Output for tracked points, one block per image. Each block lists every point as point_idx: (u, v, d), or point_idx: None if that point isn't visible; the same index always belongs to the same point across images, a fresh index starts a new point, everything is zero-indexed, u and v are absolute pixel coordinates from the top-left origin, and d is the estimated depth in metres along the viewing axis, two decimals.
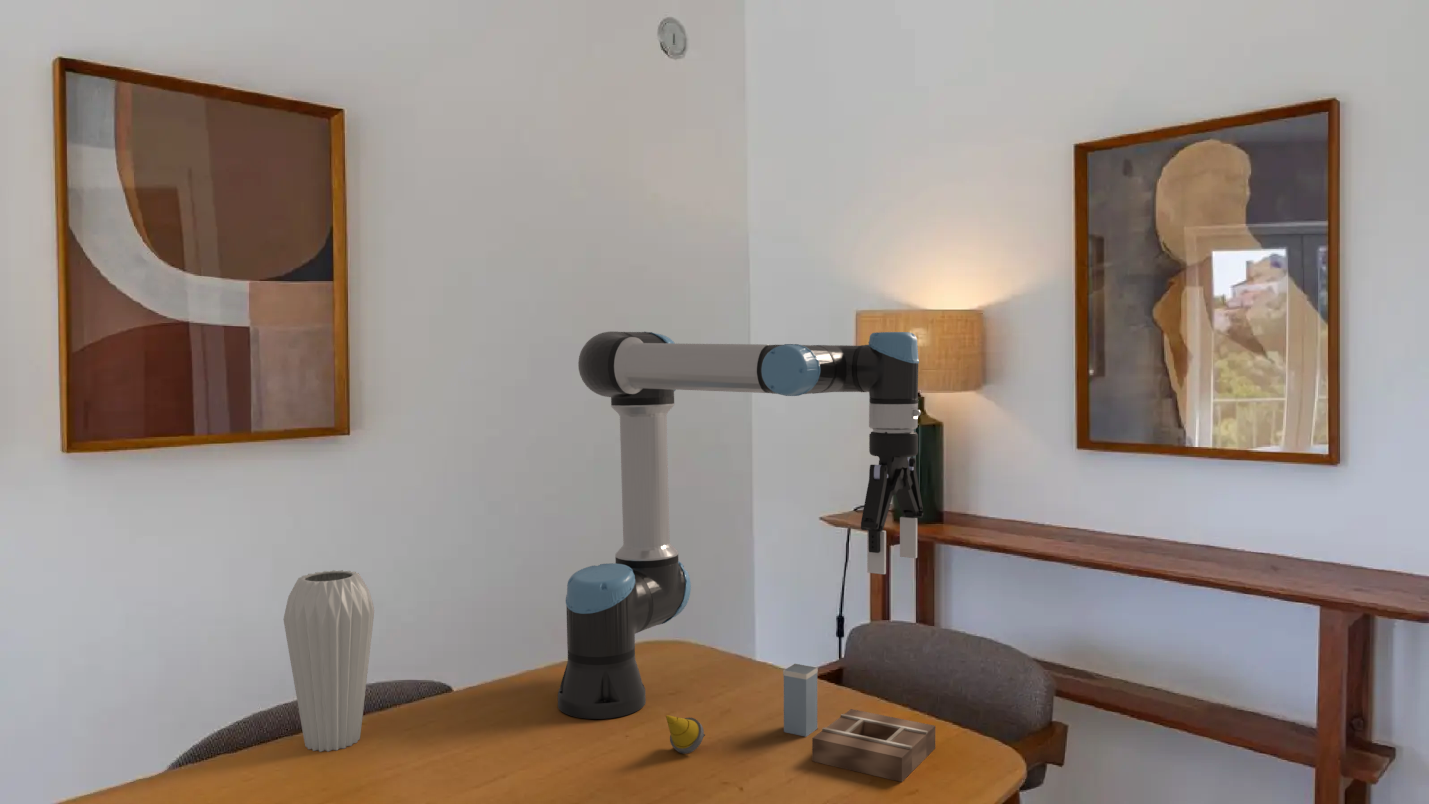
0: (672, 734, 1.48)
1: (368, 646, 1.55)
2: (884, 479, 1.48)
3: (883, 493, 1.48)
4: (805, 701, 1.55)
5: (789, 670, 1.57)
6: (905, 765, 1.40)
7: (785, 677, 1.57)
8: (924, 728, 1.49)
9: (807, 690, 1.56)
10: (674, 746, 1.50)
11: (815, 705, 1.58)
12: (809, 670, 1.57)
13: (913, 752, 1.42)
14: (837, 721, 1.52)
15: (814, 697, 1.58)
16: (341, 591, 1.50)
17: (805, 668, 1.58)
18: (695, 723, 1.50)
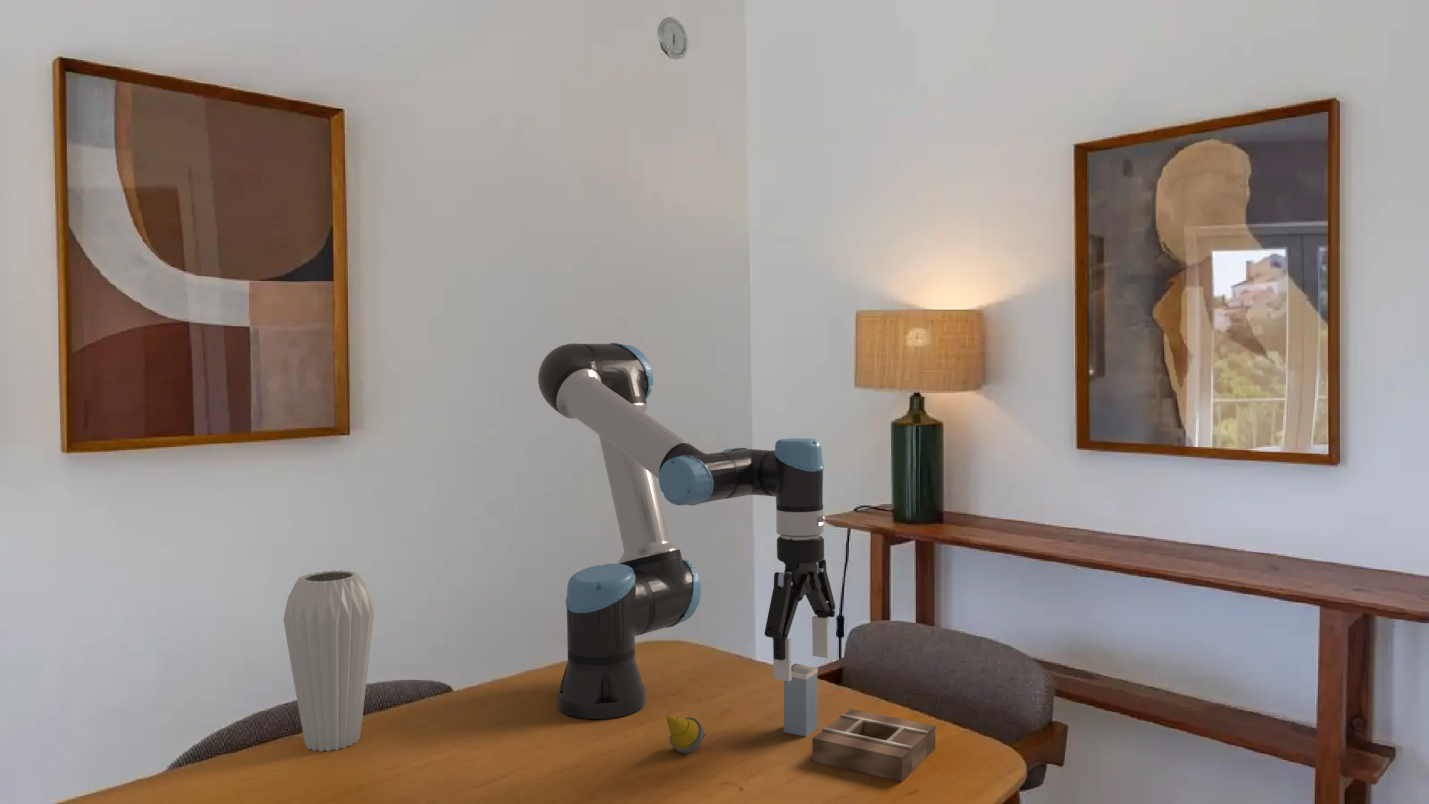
0: (672, 734, 1.48)
1: (368, 646, 1.55)
2: (788, 587, 1.51)
3: (787, 601, 1.50)
4: (805, 701, 1.55)
5: None
6: (905, 765, 1.40)
7: None
8: (924, 728, 1.49)
9: (807, 690, 1.56)
10: (674, 746, 1.50)
11: (815, 705, 1.58)
12: (809, 670, 1.57)
13: (913, 752, 1.42)
14: (837, 721, 1.52)
15: (814, 697, 1.58)
16: (341, 591, 1.50)
17: (805, 668, 1.58)
18: (695, 723, 1.50)
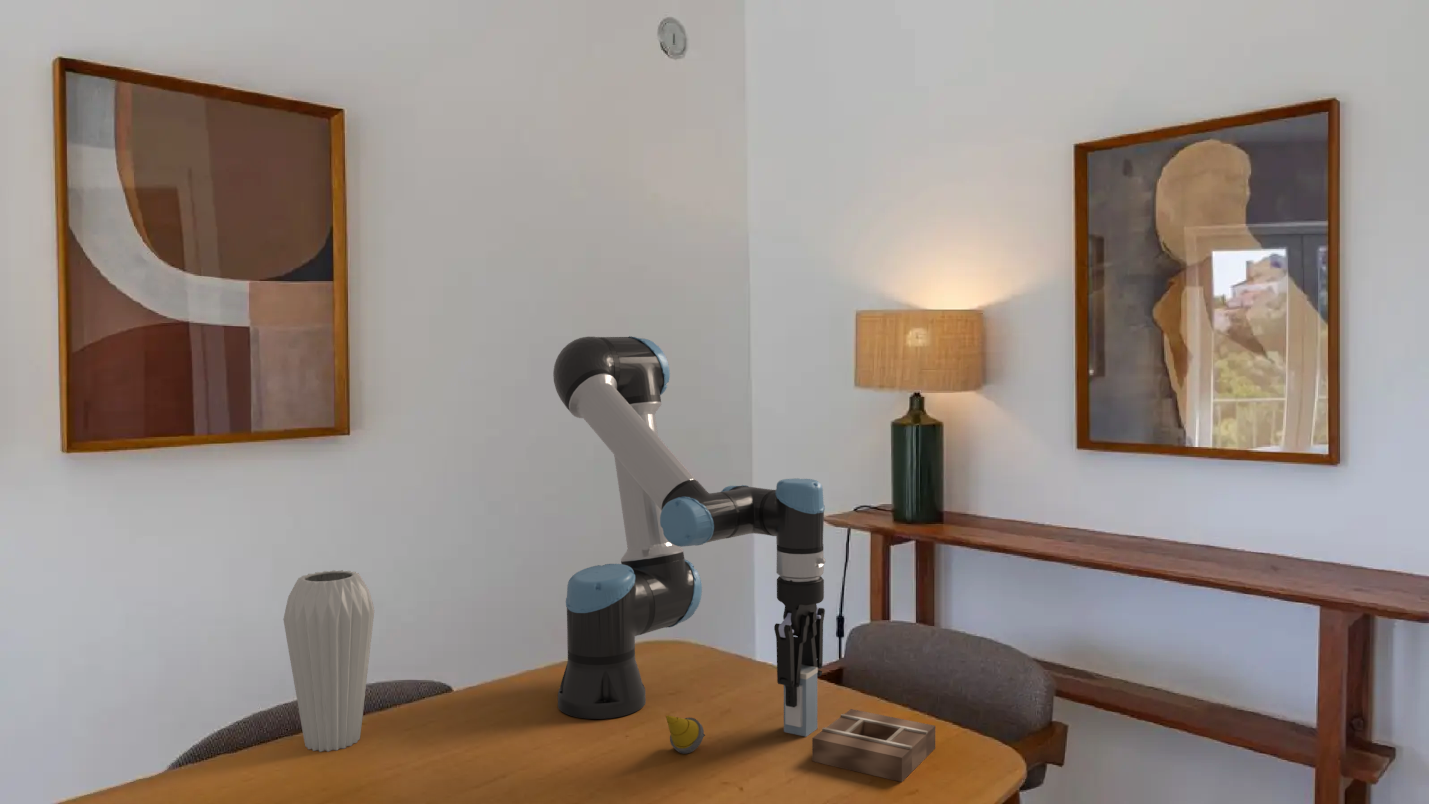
0: (672, 734, 1.48)
1: (368, 646, 1.55)
2: (790, 638, 1.52)
3: (792, 650, 1.53)
4: (805, 701, 1.55)
5: None
6: (905, 765, 1.40)
7: None
8: (924, 728, 1.49)
9: (807, 690, 1.56)
10: (674, 746, 1.50)
11: (815, 705, 1.58)
12: (809, 670, 1.57)
13: (913, 752, 1.42)
14: (837, 721, 1.52)
15: (814, 697, 1.58)
16: (341, 591, 1.50)
17: (805, 668, 1.58)
18: (695, 723, 1.50)
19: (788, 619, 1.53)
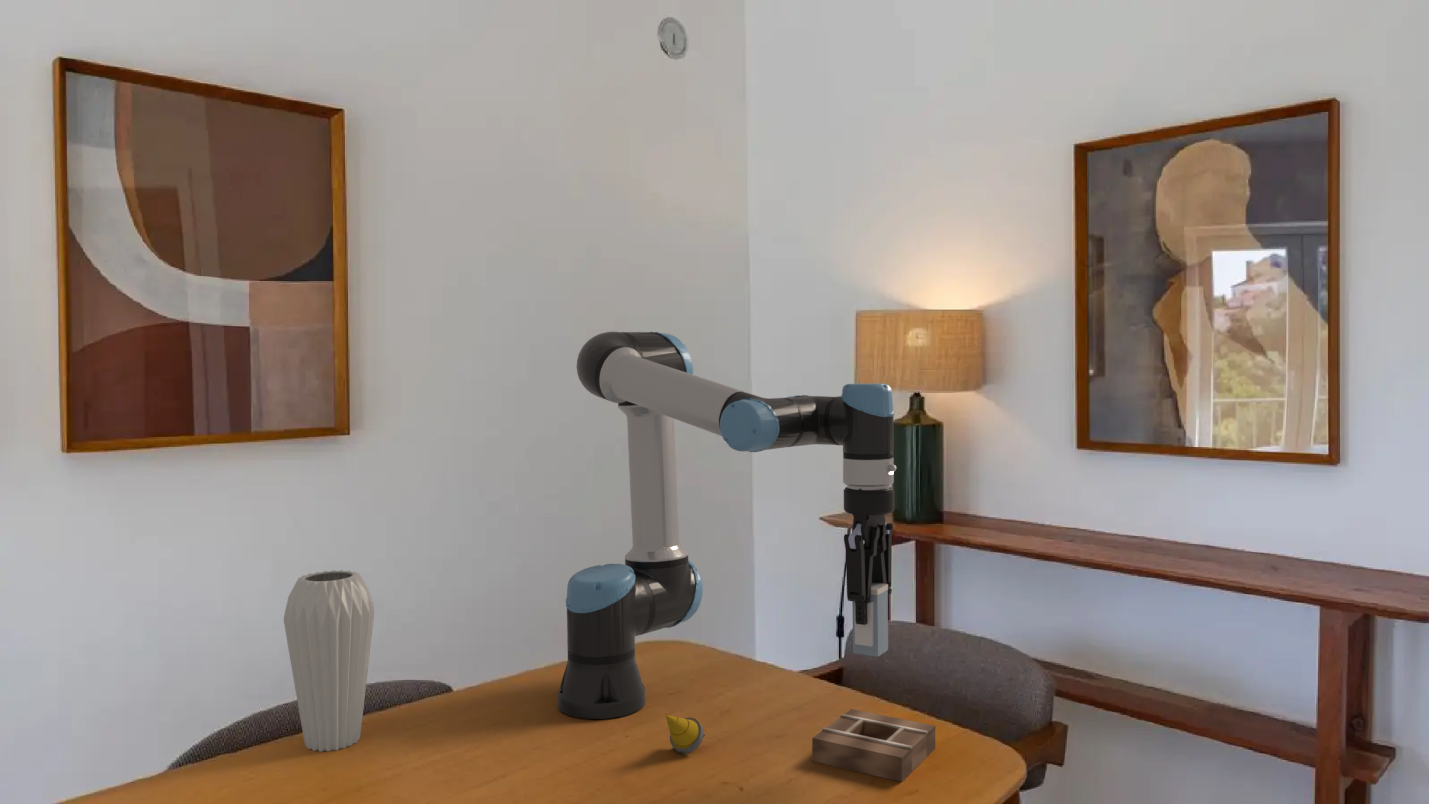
0: (672, 734, 1.48)
1: (368, 646, 1.55)
2: (861, 549, 1.42)
3: (863, 563, 1.43)
4: (876, 618, 1.45)
5: None
6: (905, 765, 1.40)
7: None
8: (924, 728, 1.49)
9: (878, 607, 1.46)
10: (674, 746, 1.50)
11: (886, 625, 1.48)
12: (879, 586, 1.47)
13: (913, 752, 1.42)
14: (837, 721, 1.52)
15: (885, 615, 1.48)
16: (341, 591, 1.50)
17: (875, 585, 1.48)
18: (695, 723, 1.50)
19: (858, 530, 1.43)
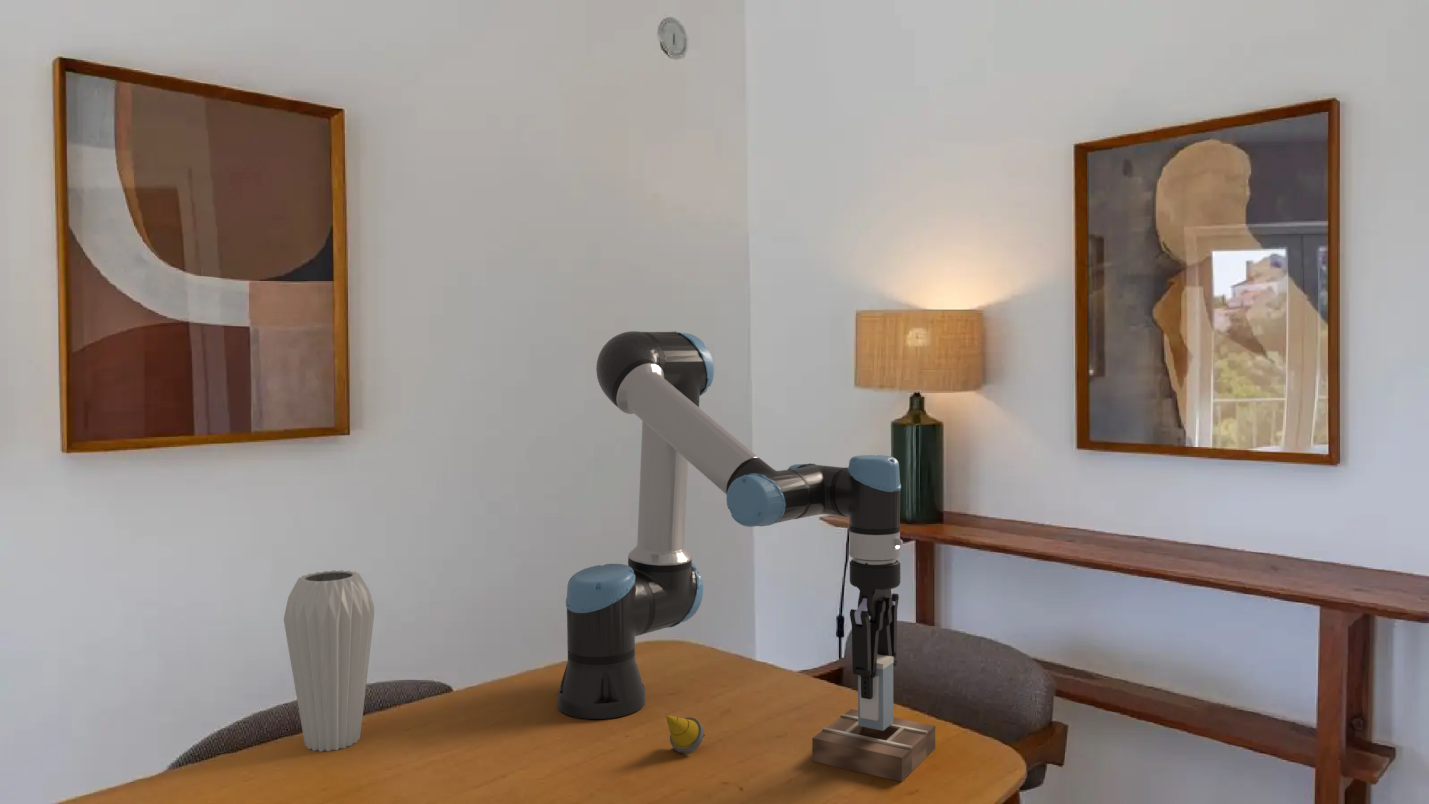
0: (672, 734, 1.48)
1: (368, 646, 1.55)
2: (867, 625, 1.42)
3: (869, 638, 1.42)
4: (882, 692, 1.45)
5: None
6: (905, 765, 1.40)
7: None
8: (924, 728, 1.49)
9: (884, 681, 1.45)
10: (674, 746, 1.50)
11: (891, 697, 1.48)
12: (885, 659, 1.47)
13: (913, 752, 1.42)
14: (837, 721, 1.52)
15: (890, 688, 1.47)
16: (341, 591, 1.50)
17: (881, 658, 1.48)
18: (695, 723, 1.50)
19: (864, 605, 1.43)
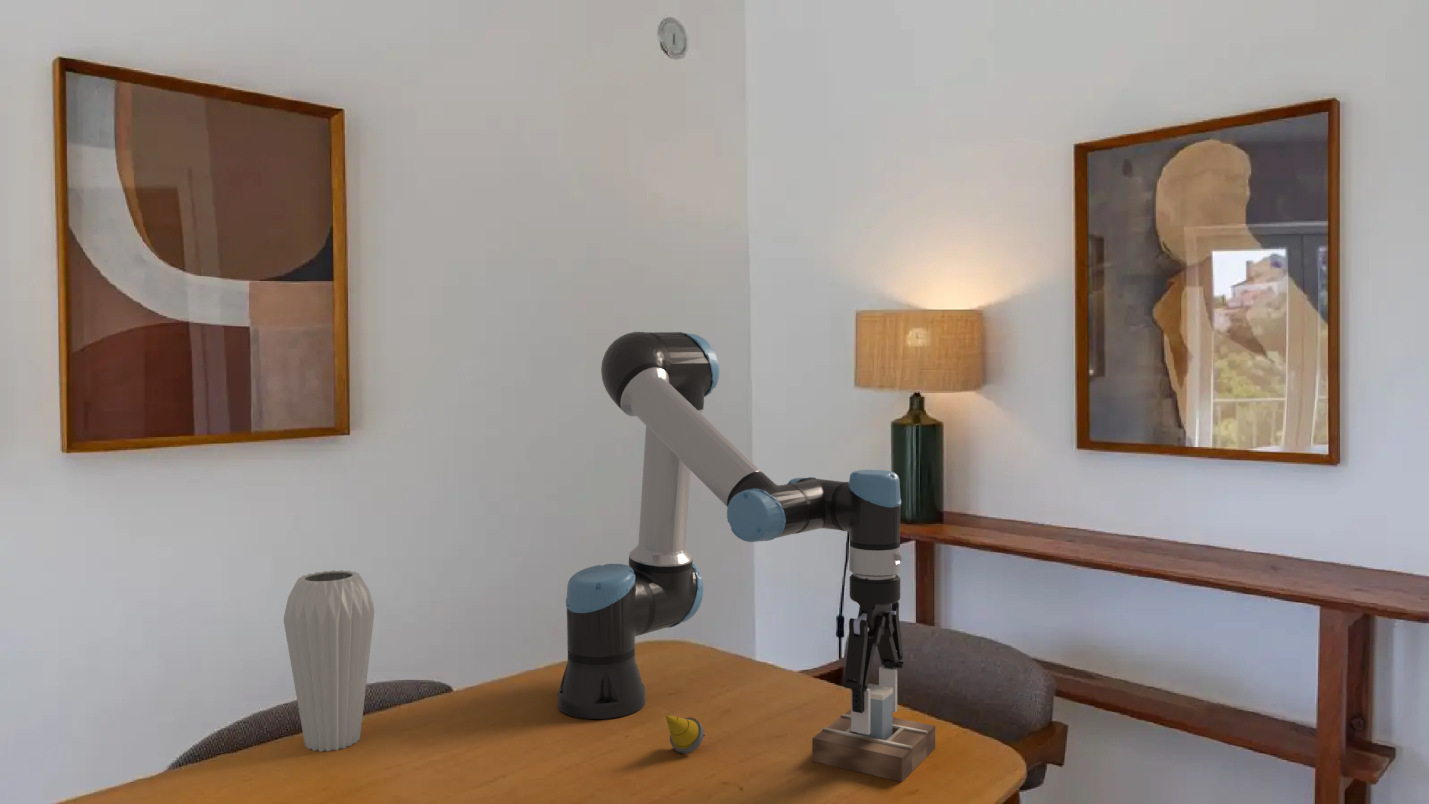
0: (672, 734, 1.48)
1: (368, 646, 1.55)
2: (865, 635, 1.41)
3: (865, 650, 1.41)
4: (881, 724, 1.45)
5: None
6: (905, 765, 1.40)
7: None
8: (924, 728, 1.49)
9: (883, 712, 1.46)
10: (674, 746, 1.50)
11: (890, 728, 1.48)
12: (884, 690, 1.47)
13: (913, 752, 1.42)
14: (837, 721, 1.52)
15: (889, 719, 1.48)
16: (341, 591, 1.50)
17: (880, 688, 1.48)
18: (695, 723, 1.50)
19: (864, 617, 1.43)
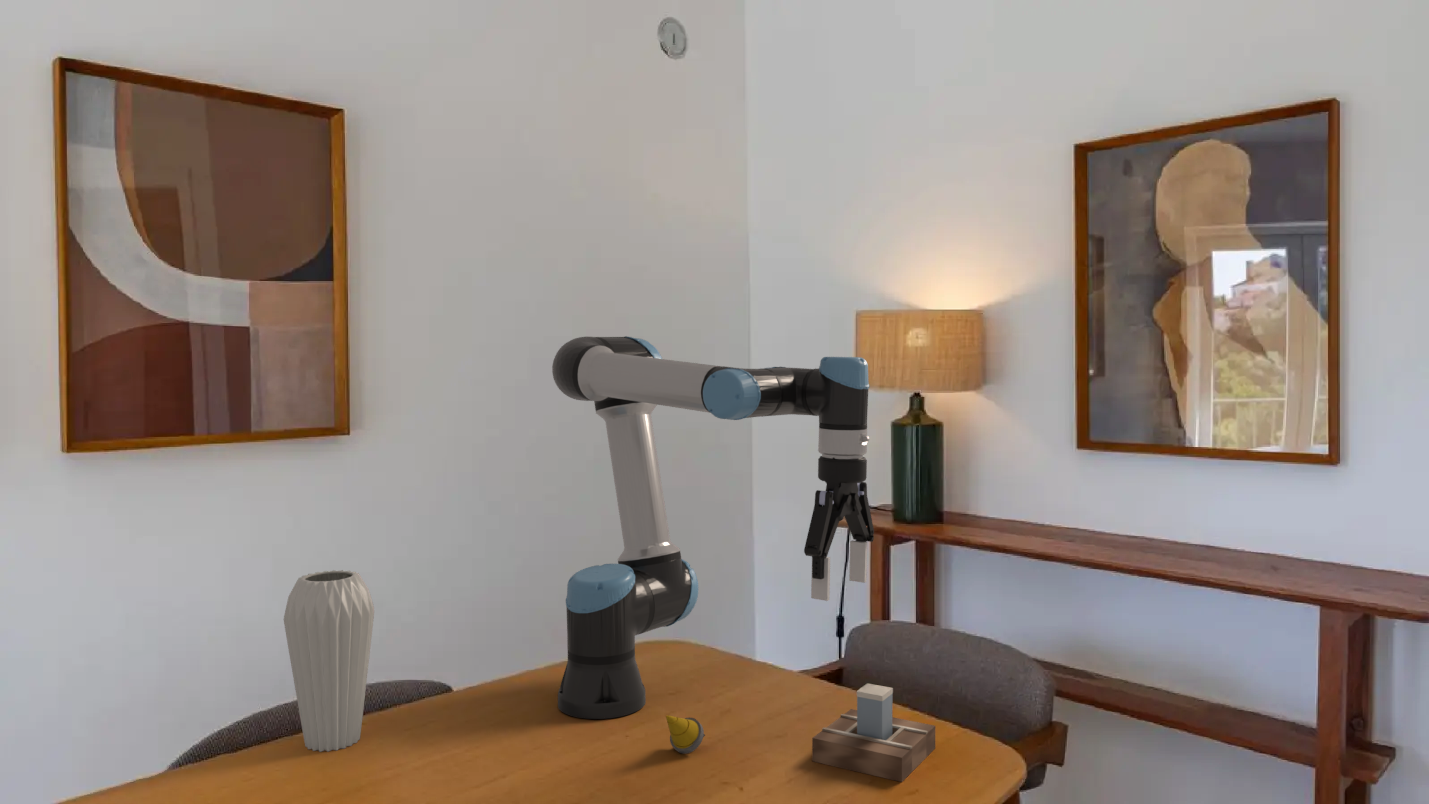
0: (672, 734, 1.48)
1: (368, 646, 1.55)
2: (829, 505, 1.47)
3: (828, 520, 1.47)
4: (881, 724, 1.45)
5: (863, 691, 1.47)
6: (905, 765, 1.40)
7: (859, 698, 1.47)
8: (924, 728, 1.49)
9: (883, 713, 1.46)
10: (674, 746, 1.50)
11: (890, 728, 1.48)
12: (884, 690, 1.47)
13: (913, 752, 1.42)
14: (837, 721, 1.52)
15: (889, 720, 1.48)
16: (341, 591, 1.50)
17: (880, 689, 1.48)
18: (695, 723, 1.50)
19: None
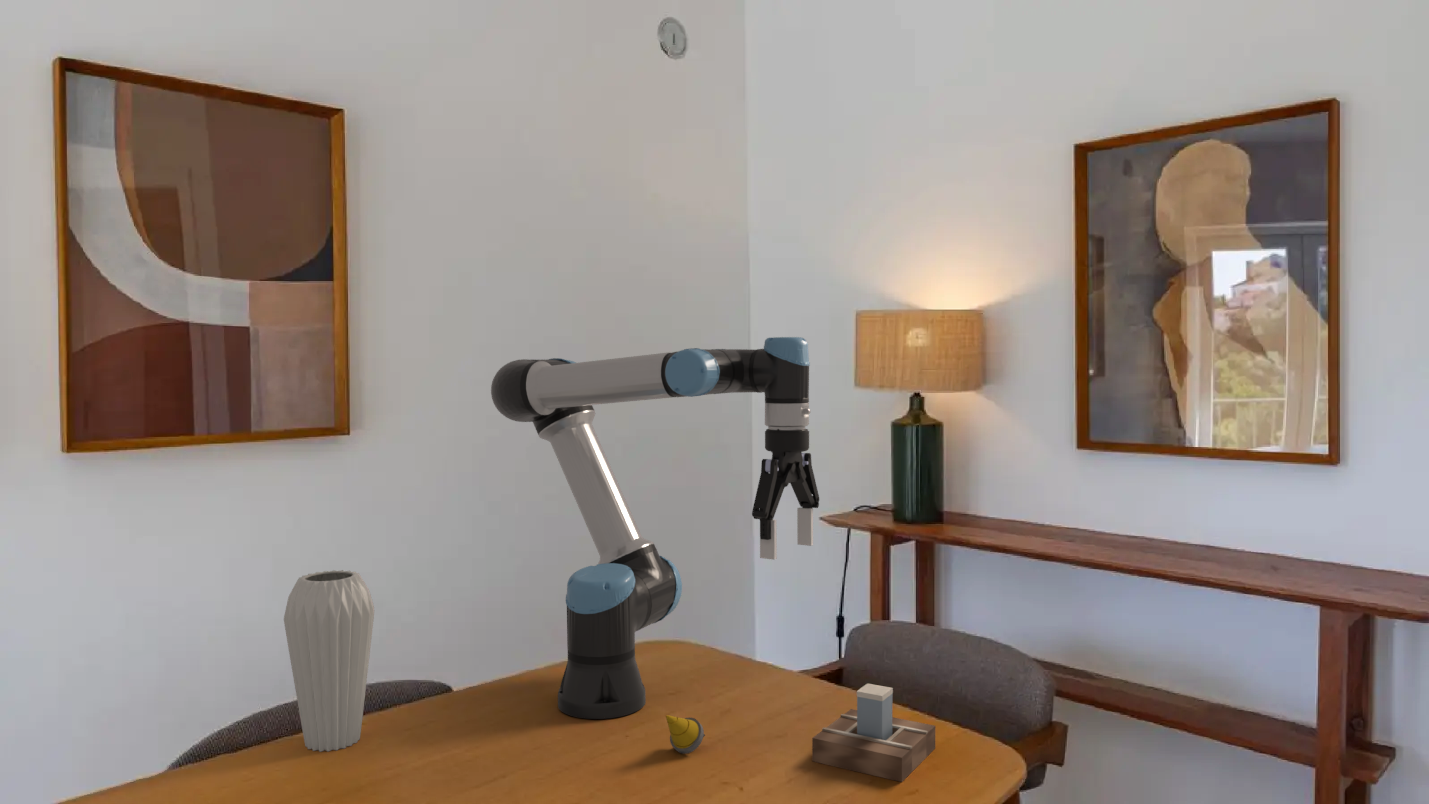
0: (672, 734, 1.48)
1: (368, 646, 1.55)
2: (774, 472, 1.61)
3: (773, 485, 1.61)
4: (881, 724, 1.45)
5: (863, 691, 1.47)
6: (905, 765, 1.40)
7: (859, 698, 1.47)
8: (924, 728, 1.49)
9: (883, 713, 1.46)
10: (674, 746, 1.50)
11: (890, 728, 1.48)
12: (884, 690, 1.47)
13: (913, 752, 1.42)
14: (837, 721, 1.52)
15: (889, 719, 1.48)
16: (341, 591, 1.50)
17: (880, 689, 1.48)
18: (695, 723, 1.50)
19: (776, 460, 1.64)
